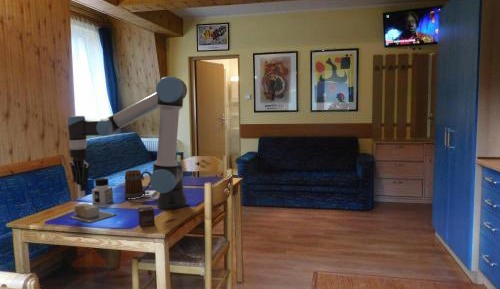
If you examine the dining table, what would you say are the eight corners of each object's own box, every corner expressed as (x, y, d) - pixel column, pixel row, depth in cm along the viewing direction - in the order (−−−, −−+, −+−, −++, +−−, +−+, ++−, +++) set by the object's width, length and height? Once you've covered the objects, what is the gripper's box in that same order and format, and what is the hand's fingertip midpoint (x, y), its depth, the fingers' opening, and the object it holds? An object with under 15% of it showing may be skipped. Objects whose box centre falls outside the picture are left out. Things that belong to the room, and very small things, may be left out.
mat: (116, 215, 183) (116, 214, 183) (90, 223, 171) (90, 222, 171) (95, 210, 191) (95, 209, 191) (69, 218, 180) (69, 216, 180)
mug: (122, 200, 212) (120, 173, 211) (127, 195, 223) (125, 170, 221) (151, 198, 213) (149, 172, 212) (154, 194, 224) (153, 169, 222)
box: (152, 222, 171) (151, 205, 170) (155, 225, 166) (154, 209, 165) (138, 223, 169) (137, 207, 168) (140, 227, 163) (139, 210, 163)
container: (105, 204, 204) (103, 179, 203) (92, 203, 206) (90, 179, 204) (113, 200, 212) (112, 177, 210) (100, 200, 213) (99, 176, 212)
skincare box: (85, 202, 188) (99, 206, 181) (86, 211, 189) (99, 215, 181) (73, 205, 183) (86, 209, 176) (73, 214, 184) (86, 218, 176)
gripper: (93, 148, 182) (97, 197, 184) (77, 147, 189) (80, 194, 191) (79, 150, 176) (82, 200, 178) (63, 148, 183) (66, 197, 185)
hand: (81, 197), depth 185 cm, fingers closed
